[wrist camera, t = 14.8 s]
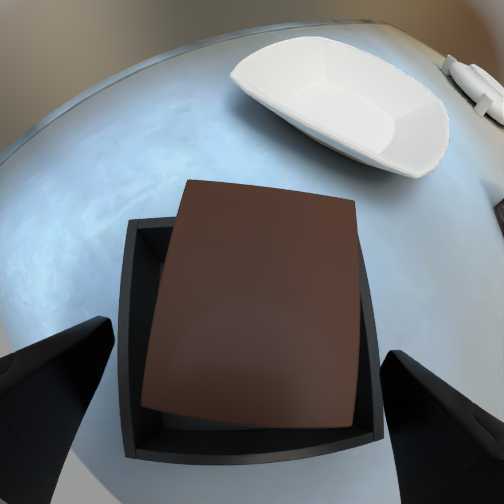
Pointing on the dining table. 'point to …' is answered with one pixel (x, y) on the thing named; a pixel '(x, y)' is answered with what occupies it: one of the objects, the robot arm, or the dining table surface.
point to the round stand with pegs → (477, 87)
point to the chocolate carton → (257, 309)
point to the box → (500, 213)
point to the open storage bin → (208, 432)
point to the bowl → (349, 103)
